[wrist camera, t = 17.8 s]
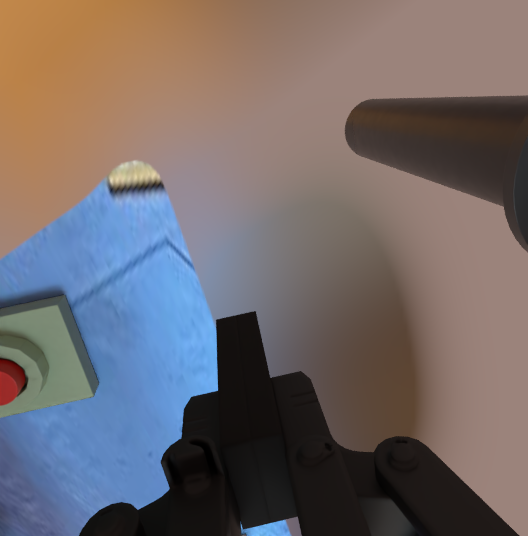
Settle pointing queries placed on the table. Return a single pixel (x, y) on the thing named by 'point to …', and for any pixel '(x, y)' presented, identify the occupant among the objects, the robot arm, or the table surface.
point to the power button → (10, 381)
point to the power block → (45, 355)
